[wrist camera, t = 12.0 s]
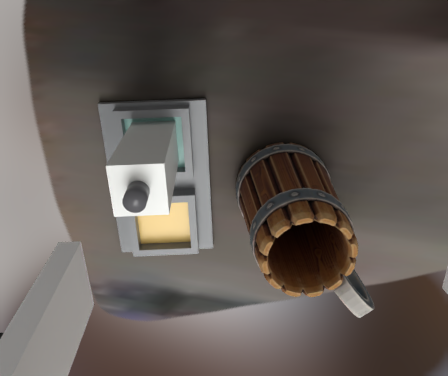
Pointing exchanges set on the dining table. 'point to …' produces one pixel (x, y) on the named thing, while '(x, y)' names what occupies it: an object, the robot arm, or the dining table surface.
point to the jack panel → (184, 183)
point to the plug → (144, 169)
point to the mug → (300, 225)
